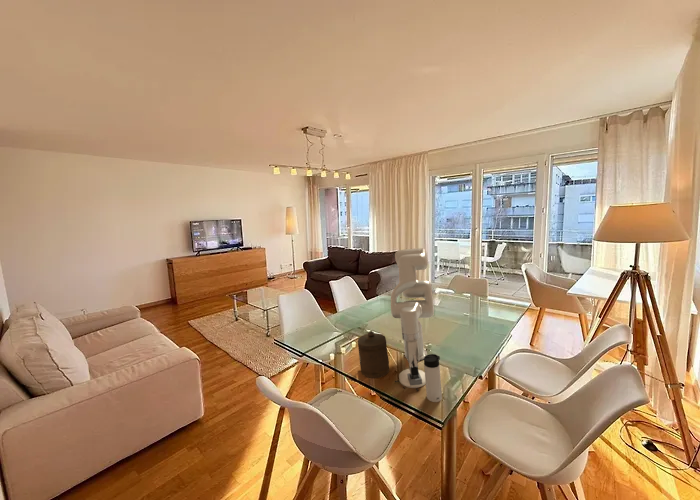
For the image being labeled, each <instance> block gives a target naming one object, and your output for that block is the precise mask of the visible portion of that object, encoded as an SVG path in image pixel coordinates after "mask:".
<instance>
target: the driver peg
mask: <svg viewBox="0 0 700 500" xmlns="http://www.w3.org/2000/svg"><path fill="white" fill-rule="evenodd" d="M413 364H414V363H413ZM409 368H410V374H411V363H409V362H408V369H409ZM411 379H418V376H417V375H414V376H412V375H411Z"/></svg>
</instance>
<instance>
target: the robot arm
mask: <svg viewBox="0 0 700 500" xmlns="http://www.w3.org/2000/svg"><path fill="white" fill-rule="evenodd" d="M394 258H395V262H396V265H397V267H398V279H399V280H398V281H399V282H398V284H397V285H396V286H395V287H394V288H393V290H392V292H391V295H390V313H391V316H392V318H394V319H400V327H401V338H402V340H403V346H404V347H403V348H404V352H405V353H404V352H403V355H405V356H404V357H405V358H406V360H407V363H408V364H409V363H411V375H412V376H414V375H419V372H418V369H419V365H418V364H419V363H420V361H422V360H424V358H425V356H426V355H428V352H427V350H425V348H424V337H423V327H422V326H423V325H422V323H421V321H420V320H419V319H430V318H432V317H433V316H434V314H435V308H434V305H435V304H434V297H433V287H432V284H431V282H430V281H429V280H425V279H423V280H422V279H420V280H419V279H418V278H417V277H418V275H417V271H424V270H427V269H428V260H429V259H428V253H427V250H426V249H425V248H421V247H419V248H408V249H407V248H406V249H399V250H397V251H396V252H395V253H394ZM401 294H402V295H403V297H404V298H407V299H409V300H405V301H402V302H401V301H400V302H397V301H398V300H397V299H398V297H399V295H401ZM419 298H420V299H419ZM421 298H423V299H421ZM413 299H414V300H413ZM415 299H416V300H415ZM417 299H419V300H417ZM413 363H414V364H413ZM408 369H409V370H410V368H409V367H408Z"/></svg>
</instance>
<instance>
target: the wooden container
mask: <svg viewBox="0 0 700 500" xmlns="http://www.w3.org/2000/svg"><path fill="white" fill-rule="evenodd" d="M357 347H358V348H357V349H358V356H359V357H358V358H359V366H360V372H361V374H362V375H363V376H364V377H365V378H368V379H369V378H370V379H379V378H383V377H385V376H386V375H388V374H389V372H390V361H389V355H388V354H389V353H388V347H387V338H386V336H385V335H384V334H381V333H375V332H373V331H369V332H367V333H365V334H363V335H361V336H359V338H358V339H357Z"/></svg>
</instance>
